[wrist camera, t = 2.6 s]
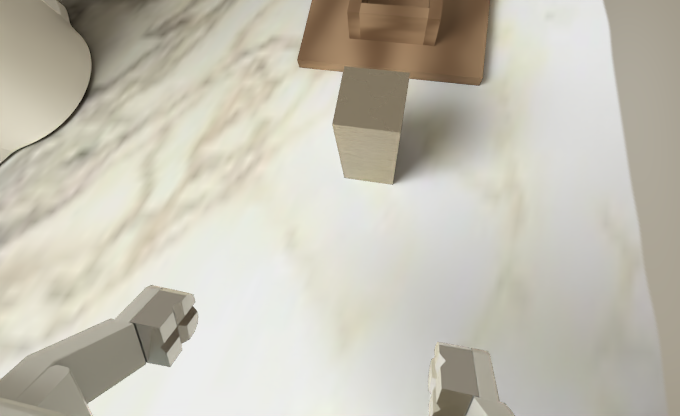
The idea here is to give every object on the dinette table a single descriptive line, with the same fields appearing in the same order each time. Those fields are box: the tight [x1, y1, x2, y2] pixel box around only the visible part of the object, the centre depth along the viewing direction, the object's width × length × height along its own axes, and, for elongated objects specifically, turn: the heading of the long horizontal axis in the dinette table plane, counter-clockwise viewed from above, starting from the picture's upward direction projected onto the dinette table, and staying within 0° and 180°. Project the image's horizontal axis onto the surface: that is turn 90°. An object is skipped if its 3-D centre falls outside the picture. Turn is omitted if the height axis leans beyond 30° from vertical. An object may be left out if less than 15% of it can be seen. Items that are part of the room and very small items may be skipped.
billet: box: [332, 66, 410, 185], centre depth 26 cm, size 4×4×9 cm
